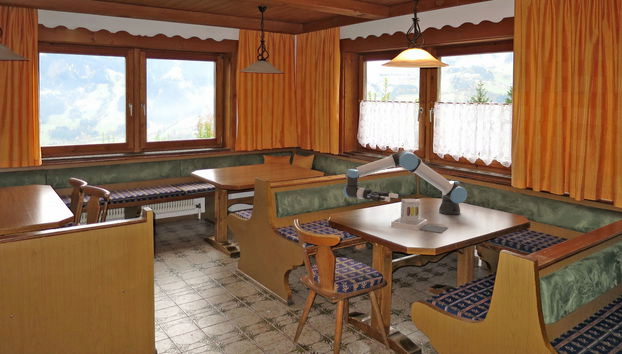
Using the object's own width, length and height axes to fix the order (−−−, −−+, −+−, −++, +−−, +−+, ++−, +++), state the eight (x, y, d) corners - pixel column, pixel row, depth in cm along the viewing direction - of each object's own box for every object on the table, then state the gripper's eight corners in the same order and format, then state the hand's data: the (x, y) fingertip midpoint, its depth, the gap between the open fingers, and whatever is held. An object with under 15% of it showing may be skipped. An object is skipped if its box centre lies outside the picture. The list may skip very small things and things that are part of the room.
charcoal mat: (427, 225, 349) (427, 224, 349) (448, 228, 342) (448, 227, 341) (419, 230, 337) (419, 229, 337) (441, 233, 330) (441, 232, 330)
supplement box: (404, 227, 343) (406, 201, 341) (399, 223, 352) (400, 198, 350) (418, 226, 345) (420, 201, 343) (413, 223, 354) (414, 198, 351)
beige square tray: (402, 220, 361) (402, 215, 361) (427, 224, 352) (427, 219, 352) (391, 226, 346) (391, 221, 345) (417, 230, 336) (417, 225, 336)
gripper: (372, 196, 373) (400, 200, 363) (356, 202, 352) (386, 206, 341) (372, 185, 372) (401, 189, 361) (356, 191, 351) (386, 195, 340)
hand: (394, 197), depth 351 cm, fingers open, 13 cm apart
